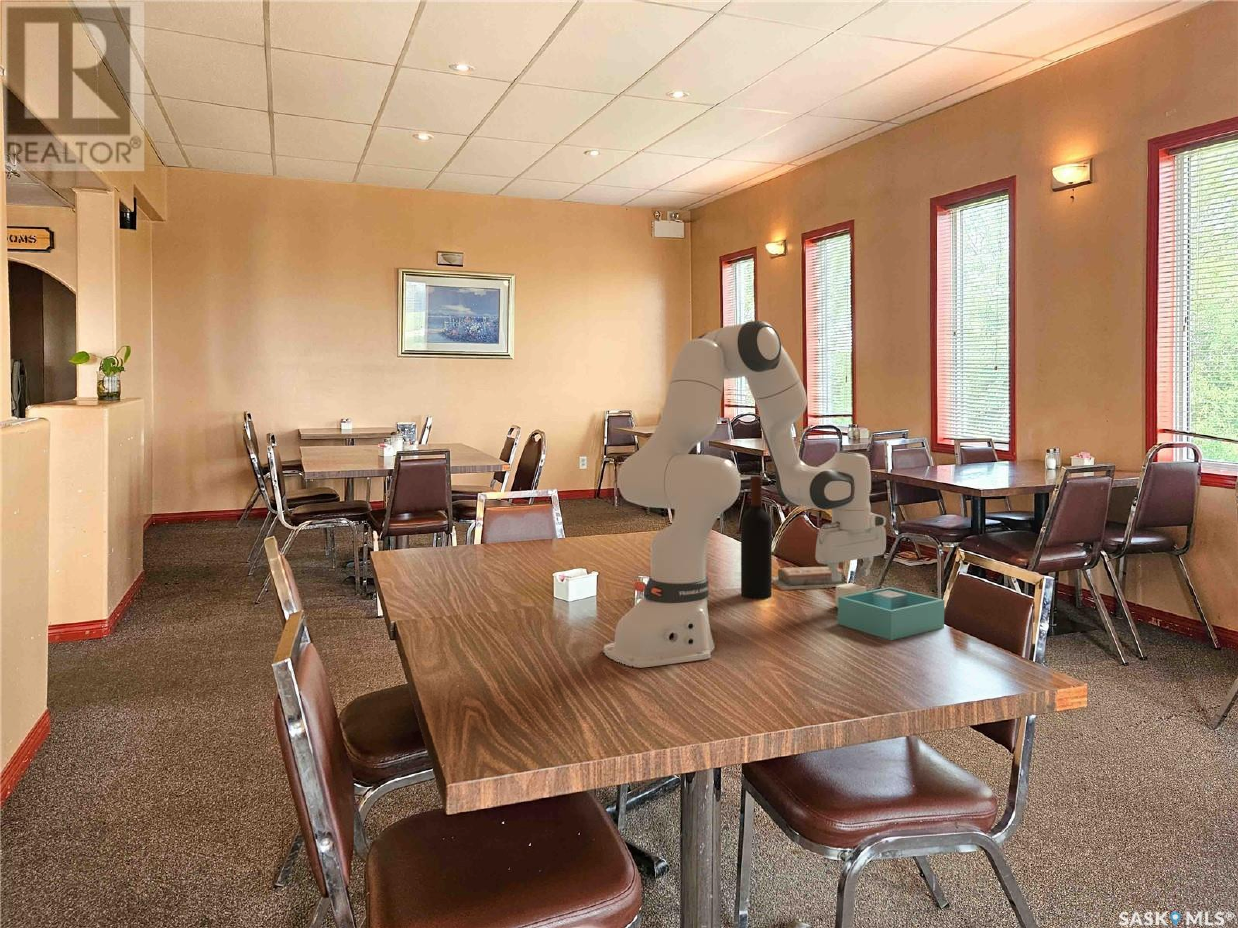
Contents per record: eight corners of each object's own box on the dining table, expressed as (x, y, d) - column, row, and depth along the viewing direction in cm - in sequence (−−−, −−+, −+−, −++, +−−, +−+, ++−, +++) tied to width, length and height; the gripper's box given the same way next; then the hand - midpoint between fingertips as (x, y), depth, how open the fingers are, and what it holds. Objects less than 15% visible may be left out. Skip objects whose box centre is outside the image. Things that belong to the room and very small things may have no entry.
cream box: (851, 611, 194) (851, 590, 194) (835, 606, 199) (835, 585, 198) (866, 608, 197) (866, 587, 197) (850, 603, 201) (850, 583, 201)
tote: (891, 640, 171) (891, 611, 171) (837, 623, 183) (838, 597, 183) (943, 627, 180) (944, 599, 179) (889, 612, 192) (890, 587, 192)
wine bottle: (737, 597, 208) (737, 477, 205) (745, 591, 215) (744, 474, 212) (768, 600, 205) (768, 478, 202) (774, 593, 212) (774, 475, 209)
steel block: (890, 625, 178) (891, 597, 178) (872, 620, 182) (872, 593, 182) (906, 621, 181) (907, 594, 180) (888, 616, 185) (888, 590, 184)
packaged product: (835, 563, 227) (849, 570, 217) (835, 580, 227) (849, 589, 217) (770, 565, 225) (782, 573, 215) (770, 583, 225) (782, 592, 215)
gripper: (829, 526, 188) (829, 586, 190) (891, 517, 199) (890, 574, 200) (809, 522, 194) (809, 581, 195) (870, 514, 204) (869, 569, 206)
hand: (850, 577), depth 198 cm, fingers open, 8 cm apart
